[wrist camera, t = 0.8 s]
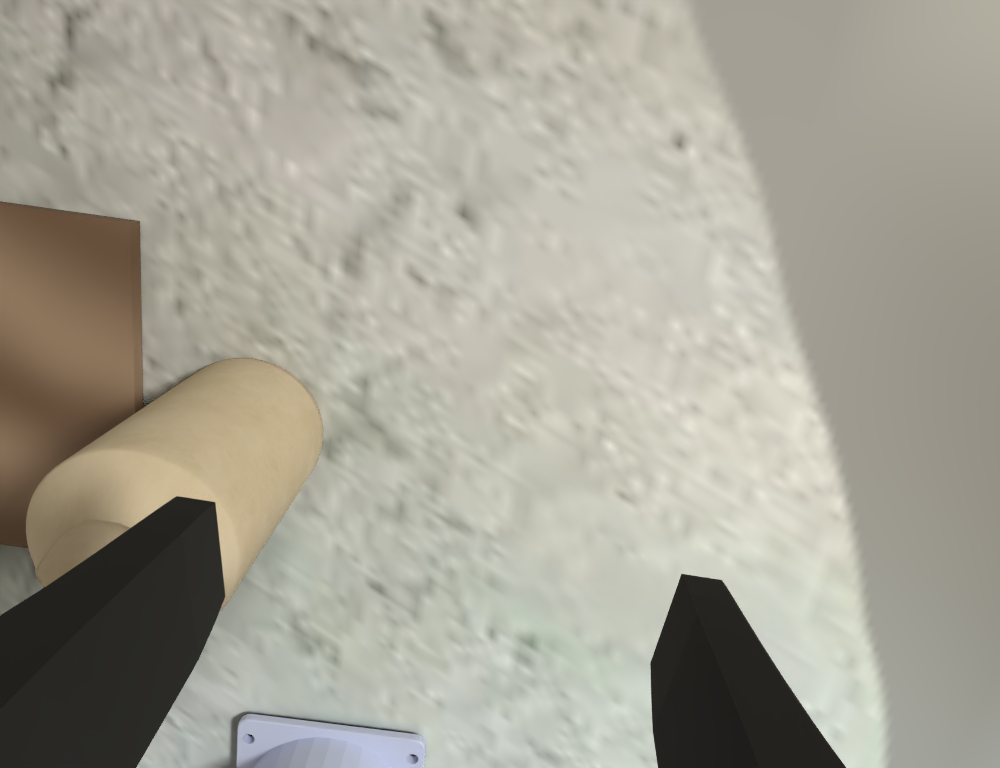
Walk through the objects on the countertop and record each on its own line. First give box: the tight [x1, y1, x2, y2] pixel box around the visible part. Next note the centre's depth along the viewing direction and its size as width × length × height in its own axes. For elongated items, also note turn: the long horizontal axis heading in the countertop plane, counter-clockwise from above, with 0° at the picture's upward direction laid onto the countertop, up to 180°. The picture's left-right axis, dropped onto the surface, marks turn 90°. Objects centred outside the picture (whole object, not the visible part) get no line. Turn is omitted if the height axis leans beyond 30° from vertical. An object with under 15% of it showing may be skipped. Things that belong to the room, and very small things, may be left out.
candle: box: [26, 358, 323, 612], centre depth 21 cm, size 6×6×10 cm
